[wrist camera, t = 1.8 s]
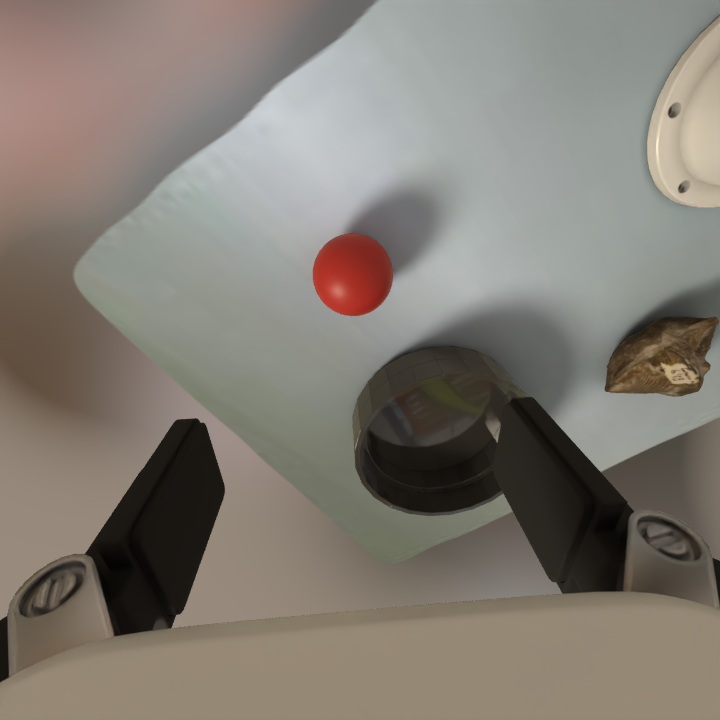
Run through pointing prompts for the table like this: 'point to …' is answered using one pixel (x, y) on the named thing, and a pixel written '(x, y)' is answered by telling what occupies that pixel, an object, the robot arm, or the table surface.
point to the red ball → (352, 274)
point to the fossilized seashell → (663, 358)
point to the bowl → (432, 430)
